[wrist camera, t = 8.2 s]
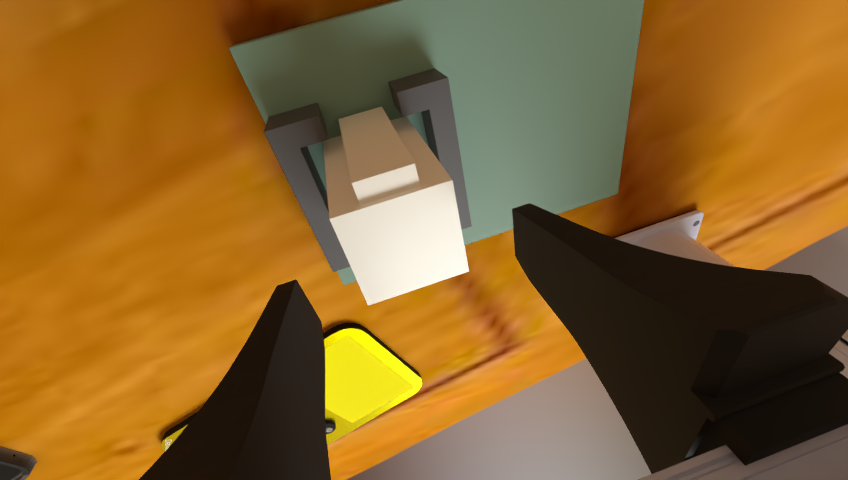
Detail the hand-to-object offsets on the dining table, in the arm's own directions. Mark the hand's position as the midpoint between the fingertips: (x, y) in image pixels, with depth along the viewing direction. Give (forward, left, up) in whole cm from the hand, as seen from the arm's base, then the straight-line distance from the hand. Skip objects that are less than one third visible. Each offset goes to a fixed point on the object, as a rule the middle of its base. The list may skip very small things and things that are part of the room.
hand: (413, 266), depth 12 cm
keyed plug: (0, 0, -8) cm, 8 cm away
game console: (-18, +12, -10) cm, 23 cm away
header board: (0, -5, -9) cm, 10 cm away
